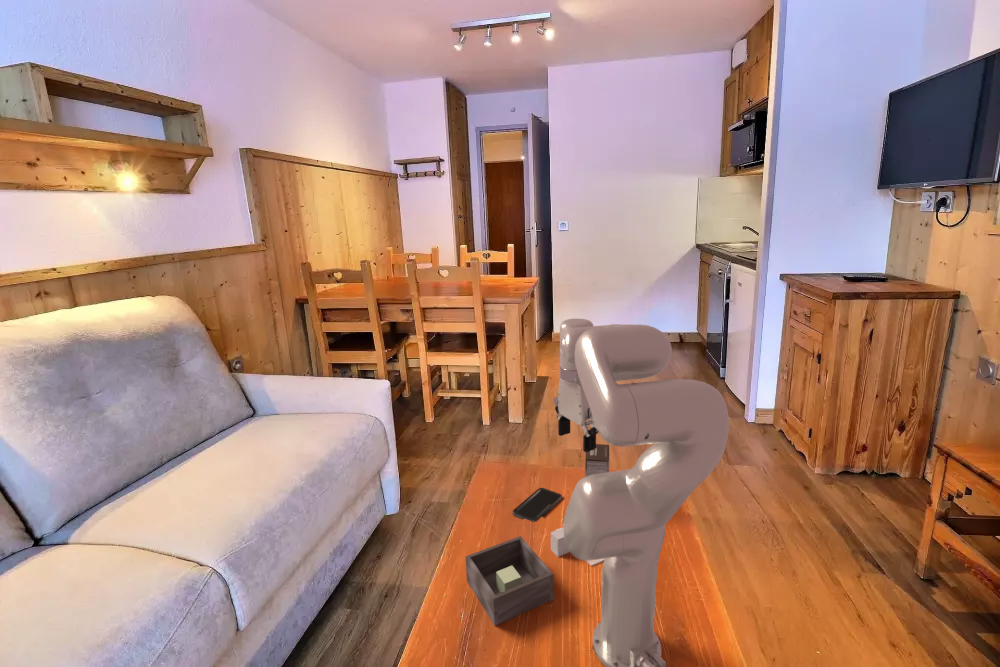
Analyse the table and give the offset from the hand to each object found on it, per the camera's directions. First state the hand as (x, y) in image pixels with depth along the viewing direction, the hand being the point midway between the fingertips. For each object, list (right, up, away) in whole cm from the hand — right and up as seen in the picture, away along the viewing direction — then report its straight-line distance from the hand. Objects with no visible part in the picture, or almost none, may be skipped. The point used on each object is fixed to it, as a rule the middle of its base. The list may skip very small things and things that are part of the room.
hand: (576, 441), depth 116 cm
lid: (-1, -28, +4) cm, 28 cm away
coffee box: (+9, -22, +22) cm, 33 cm away
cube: (-16, -30, -9) cm, 35 cm away
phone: (-7, -23, +22) cm, 33 cm away
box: (-16, -31, -8) cm, 36 cm away
